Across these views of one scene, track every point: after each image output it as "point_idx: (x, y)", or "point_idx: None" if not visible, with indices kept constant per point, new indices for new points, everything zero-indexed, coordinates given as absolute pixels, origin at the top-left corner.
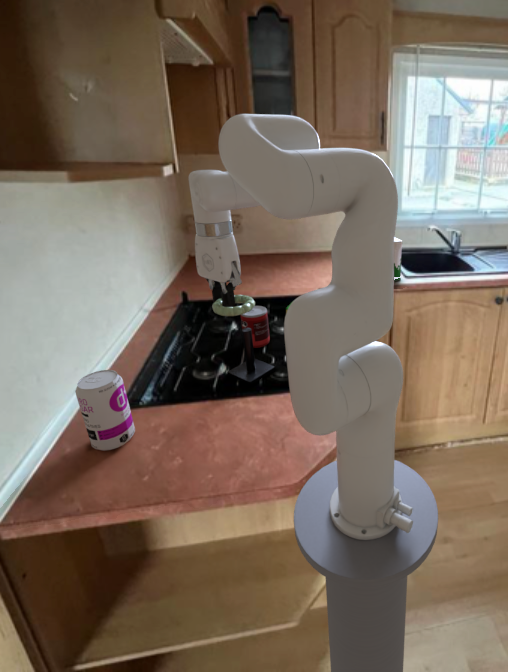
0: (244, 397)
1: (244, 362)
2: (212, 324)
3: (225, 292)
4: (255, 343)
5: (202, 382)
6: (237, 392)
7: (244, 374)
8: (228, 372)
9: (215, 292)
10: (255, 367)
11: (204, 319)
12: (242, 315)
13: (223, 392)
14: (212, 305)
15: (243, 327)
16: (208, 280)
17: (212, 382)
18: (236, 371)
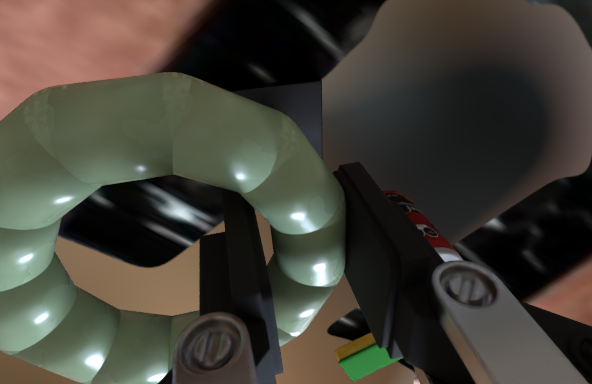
0: (177, 40)
1: (320, 141)
2: (540, 189)
3: (184, 338)
4: None
5: (351, 3)
6: (218, 42)
7: (267, 106)
8: (315, 81)
9: (383, 261)
10: None
11: (574, 189)
12: (438, 249)
13: (252, 13)
14: (283, 124)
15: (418, 222)
16: (582, 347)
17: (326, 24)
18: (300, 100)
